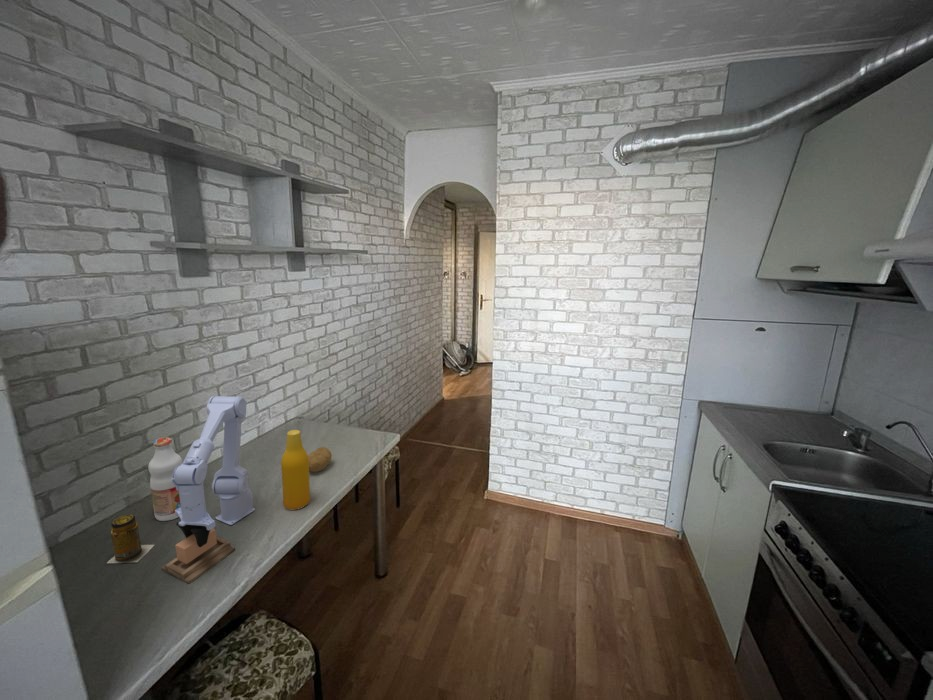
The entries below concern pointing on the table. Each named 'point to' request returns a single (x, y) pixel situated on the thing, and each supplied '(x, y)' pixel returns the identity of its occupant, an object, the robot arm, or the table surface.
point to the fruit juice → (164, 480)
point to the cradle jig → (199, 562)
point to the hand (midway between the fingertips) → (197, 542)
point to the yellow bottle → (295, 472)
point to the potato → (319, 459)
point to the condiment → (127, 541)
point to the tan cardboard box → (194, 547)
